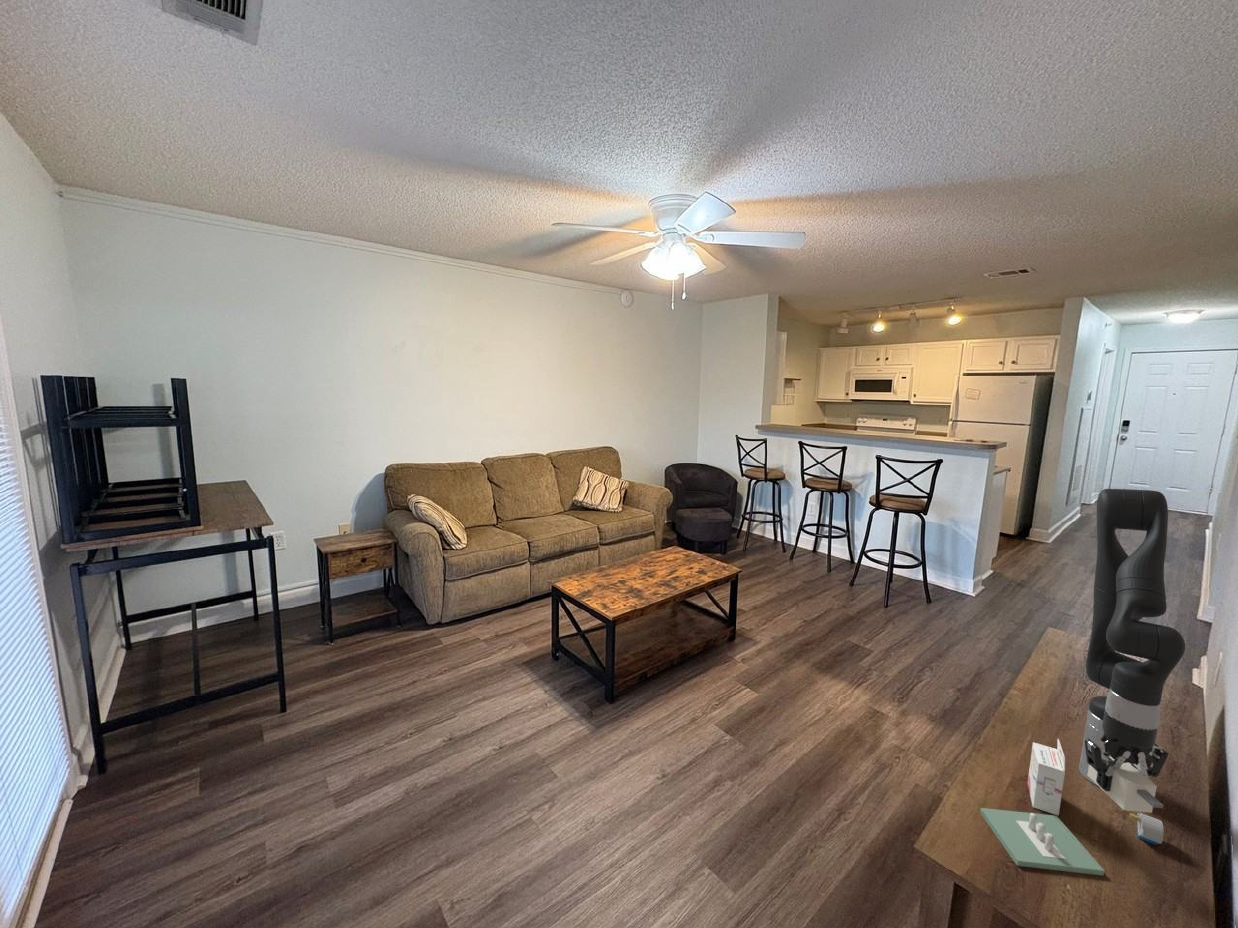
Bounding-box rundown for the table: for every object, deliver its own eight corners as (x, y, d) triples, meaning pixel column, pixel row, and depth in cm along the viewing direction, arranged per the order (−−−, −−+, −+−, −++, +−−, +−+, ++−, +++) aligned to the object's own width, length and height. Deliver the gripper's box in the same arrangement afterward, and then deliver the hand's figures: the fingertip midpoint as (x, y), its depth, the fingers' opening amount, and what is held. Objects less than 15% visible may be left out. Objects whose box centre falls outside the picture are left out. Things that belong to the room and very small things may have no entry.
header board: (1055, 820, 112) (1058, 801, 111) (1103, 875, 99) (1107, 855, 99) (979, 812, 114) (982, 794, 113) (1016, 865, 101) (1019, 845, 101)
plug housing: (1112, 777, 106) (1117, 752, 106) (1169, 828, 94) (1174, 800, 93) (1087, 775, 107) (1091, 750, 106) (1139, 825, 95) (1144, 798, 94)
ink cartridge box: (1025, 782, 123) (1033, 729, 120) (1051, 791, 120) (1059, 737, 118) (1031, 807, 116) (1039, 751, 113) (1059, 817, 113) (1068, 759, 111)
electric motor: (1124, 819, 112) (1128, 800, 111) (1155, 831, 109) (1159, 812, 108) (1129, 841, 107) (1133, 821, 106) (1162, 854, 104) (1166, 833, 103)
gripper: (1153, 706, 102) (1140, 778, 105) (1077, 701, 104) (1066, 772, 107) (1190, 730, 95) (1175, 807, 98) (1107, 725, 97) (1095, 800, 99)
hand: (1118, 788), depth 102 cm, fingers closed on plug housing, 5 cm apart
